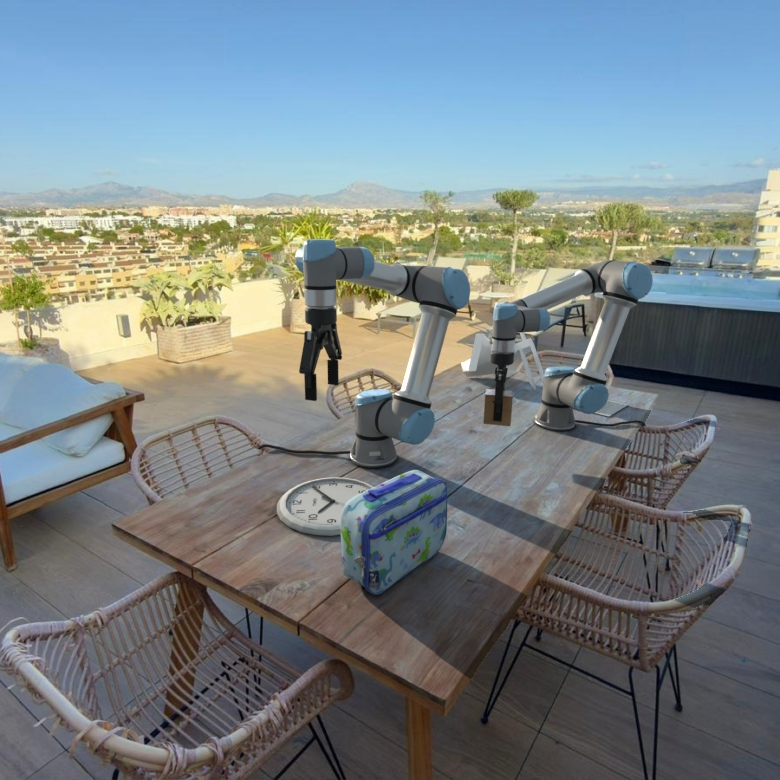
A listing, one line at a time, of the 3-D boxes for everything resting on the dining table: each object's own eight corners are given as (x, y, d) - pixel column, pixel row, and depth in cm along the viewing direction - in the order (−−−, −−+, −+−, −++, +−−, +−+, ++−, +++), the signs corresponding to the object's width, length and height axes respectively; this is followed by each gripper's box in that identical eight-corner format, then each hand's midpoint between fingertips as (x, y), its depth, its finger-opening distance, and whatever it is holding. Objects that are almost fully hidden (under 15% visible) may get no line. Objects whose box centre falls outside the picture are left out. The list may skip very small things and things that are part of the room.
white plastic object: (482, 418, 266) (461, 395, 241) (463, 346, 288) (443, 318, 264) (553, 394, 254) (538, 368, 229) (528, 321, 276) (512, 289, 251)
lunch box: (368, 607, 104) (369, 515, 98) (334, 582, 112) (333, 494, 106) (451, 554, 122) (455, 472, 116) (417, 535, 129) (420, 457, 123)
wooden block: (485, 417, 183) (486, 388, 180) (511, 419, 181) (513, 390, 178) (483, 423, 177) (485, 394, 174) (510, 426, 175) (512, 396, 172)
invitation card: (608, 416, 214) (573, 407, 224) (608, 416, 214) (573, 408, 224) (628, 404, 229) (594, 396, 238) (628, 405, 229) (594, 397, 238)
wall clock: (392, 527, 129) (268, 531, 127) (391, 533, 130) (269, 537, 127) (383, 473, 158) (282, 475, 155) (383, 478, 158) (282, 480, 156)
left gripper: (327, 299, 137) (328, 377, 143) (281, 313, 114) (285, 405, 120) (353, 301, 135) (354, 380, 141) (313, 315, 112) (315, 409, 118)
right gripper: (493, 344, 181) (489, 407, 188) (488, 357, 164) (484, 426, 171) (515, 345, 180) (510, 409, 187) (513, 359, 162) (507, 428, 169)
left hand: (322, 392), depth 130 cm, fingers open, 13 cm apart
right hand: (498, 417), depth 179 cm, fingers closed on wooden block, 6 cm apart
